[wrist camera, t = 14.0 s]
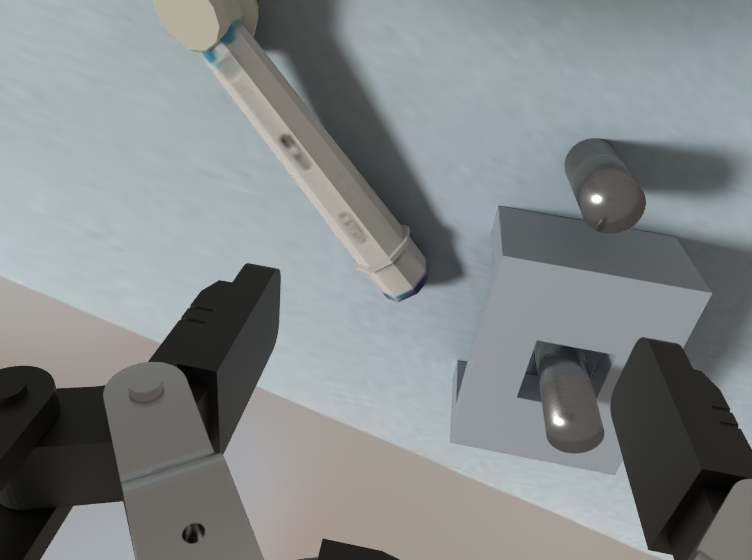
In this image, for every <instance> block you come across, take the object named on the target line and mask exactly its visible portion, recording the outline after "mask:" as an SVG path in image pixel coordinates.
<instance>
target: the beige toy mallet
mask: <svg viewBox="0 0 752 560" xmlns="http://www.w3.org/2000/svg"><path fill="white" fill-rule="evenodd" d="M153 3H154V7H155V10H156V13H157V15H158V18H159V21H160V24H161V26H162V27H163V28H164V29H165V30H166V32H167V33H168V34H169V35H170V36H171V38H172V39H173V40H174V41H176V42H177V43H179V44H181V45H183V46H184V47H186V48H188V49H190V50H192V51H194V52H198V53H199V55H200V56H201V57H202V58H203V60H204V61H205V62H206V64H207V65H208V66H209V68H210V69H211V70H212V72H213V73H214V74H215V76H216V77H217V78H218V80H219V81H220V82H221V84H222V85H223V86H224V87H225V89H226V90H227V91H228V93H229V94H230V95H231V97H232V98H233V99H234V101H235V102H236V103H237V105H238V106H239V107H240V109H241V110H242V111H243V113H244V114H245V115H246V116H247V118H248V119H249V120H250V122H251V123H252V124H253V126H254V127H255V128H256V130H257V131H258V132H259V134H260V135H261V136H262V138H263V139H264V140H265V142H266V143H267V144H268V145H269V147H270V148H271V149H272V151H273V152H274V153H275V155H276V156H277V157H278V159H279V160H280V161H281V163H282V164H283V165H284V167H285V168H286V169H287V171H288V172H289V173H290V174H291V176H292V177H293V178H294V180H295V181H296V182H297V184H298V185H299V186H300V188H301V189H302V190H303V192H304V193H305V194H306V196H307V197H308V198H309V200H310V201H311V202H312V203H313V205H314V206H315V207H316V209H317V210H318V211H319V213H320V214H321V215H322V217H323V218H324V219H325V221H326V222H327V223H328V225H329V226H330V227H331V229H332V230H333V231H334V233H335V234H336V235H337V236H338V238H339V239H340V240H341V242H342V243H343V244H344V246H345V247H346V248H347V250H348V251H349V252H350V254H351V255H352V256H353V258H354V259H355V265H354V267H355V268H356V270H358V271H362V272H365V273H366V274H367V275H368V276H369V277H370V278H371V280H372V281H373V282H374V283H375V284H376V286H377V287H378V288H379V289H380V290H381V292H382V293H383V294H384V295H385V296H386V298H388V299H391V300H394V301H397V302H400V301H402V300H404V299H406V298H409V297H411V296H413V295H415V294H417V293H418V292H419V291H420V290H421V288H422V287H423V286H424V285H425V284H426V282H427V281H428V280H429V279H430V278H431V277H430V264H429V262H428V261H427V260H426V258H425V257H424V256H423V254H422V253H421V252H420V250H419V249H418V248H417V246H416V245H415V244H414V242H413V241H412V239H411V238H410V228H409V227H408V225H400V224H399V222H398V221H397V220H396V219H395V217H394V216H393V215H392V214H391V212H390V211H389V210H388V208H387V207H386V206H385V205H384V203H383V202H382V201H381V200H380V198H379V197H378V196H377V194H376V193H375V192H374V191H373V189H372V188H371V187H370V186H369V184H368V183H367V182H366V180H365V179H364V178H363V177H362V175H361V174H360V173H359V172H358V170H357V169H356V168H355V166H354V165H353V164H352V163H351V161H350V160H349V159H348V158H347V156H346V155H345V154H344V152H343V151H342V150H341V149H340V147H339V146H338V145H337V144H336V142H335V141H334V140H333V138H332V137H331V136H330V135H329V133H328V132H327V131H326V130H325V128H324V127H323V126H322V124H321V123H320V122H319V121H318V119H317V118H316V117H315V116H314V114H313V113H312V112H311V111H310V109H309V108H308V107H307V105H306V104H305V103H304V102H303V100H302V99H301V98H300V97H299V95H298V94H297V93H296V91H295V90H294V89H293V88H292V86H291V85H290V84H289V83H288V81H287V80H286V79H285V77H284V76H283V75H282V74H281V72H280V71H279V70H278V69H277V67H276V66H275V65H274V63H273V62H272V61H271V60H270V58H269V57H268V56H267V55H266V53H265V52H264V51H263V49H262V48H261V47H260V46H259V44H258V43H257V42H256V41H255V39H254V35H255V31H256V27H257V23H258V19H259V14H258V10H259V6H258V2H257V0H153Z"/></svg>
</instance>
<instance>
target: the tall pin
mask: <svg viewBox="0 0 752 560" xmlns="http://www.w3.org/2000/svg"><path fill="white" fill-rule="evenodd" d="M534 352H535V359H536V366H537V373H538V380H539V387H540V394H541V401H542V408H543V415H544V422H545V430H546V437H547V440H548V442H549V443H550V444H551V445H552V446H553V447H554V448H556V449H557V450H559V451H562V452H565V453H573V454H577V453H584V452H588V451H590V450H593V449H594V448H596V447H597V446H598V445H600V443H601V442H602V441H603V438H604V428H603V424H602V420H601V416H600V412H599V408H598V405H597V401H596V397H595V393H594V389H593V385H592V381H591V377H590V374H589V370H588V366H587V362H586V358H585V354H584V350H583V349H581V348H575V347H570V346H565V345H559V344H554V343H548V342H543V341H538V340H537V341H536V344H535V347H534Z"/></svg>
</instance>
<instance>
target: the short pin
mask: <svg viewBox="0 0 752 560" xmlns="http://www.w3.org/2000/svg"><path fill="white" fill-rule="evenodd" d="M565 172H566V174H567V177H568V179H569V182H570V185H571V187H572V190H573V192H574V195H575V197H576V200H577V202H578V205H579V207H580V210H581V212H582V215H583V217H584V220H585V222H586V223H587V224H588V225H589V226H590V227H591V228H592V229H594V230H595V231H598V232H600V233H605V234H614V233H619V232H622V231H625V230H627V229H629V228H631V227H632V226H633V225H635V224H636V223H637V222H638V221H639V219H640V218H641V217H642V215H643V213H644V210H645V206H646V199H645V195H644V193H643V191H642V189H641V188H640V186H639V185H638V183H637V182H636V180H635V179H634V177H633V176H632V174H631V173H630V171H629V170H628V168H627V167H626V165H625V164H624V162H623V161H622V159H621V158H620V156H619V155H618V153H617V152H616V150H615V149H614V147H613V146H612V145H611V144H610V143H608V142H607V141H605V140H602V139H596V138H593V139H587V140H584V141H581V142H579V143H578V144H576V145H575V146H574V147H573V148H572V149H571V150H570V151H569V153H568V155H567V157H566V160H565Z"/></svg>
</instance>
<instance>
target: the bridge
mask: <svg viewBox="0 0 752 560" xmlns="http://www.w3.org/2000/svg"><path fill="white" fill-rule="evenodd" d="M492 247H493V264H494V268H493V272H492V275H491V279H490V283H489V286H488V290H487V293H486V297H485V301H484V304H483V308H482V312H481V315H480V319H479V322H478V326H477V330H476V333H475V337H474V341H473V344H472V348H471V351H470V355H469V359H468V362H463V361H457V365H456V369H455V373H454V377H453V389H452V410H451V431H450V442H451V443H456V444H461V445H466V446H471V447H476V448H481V449H486V450H491V451H496V452H501V453H506V454H511V455H516V456H521V457H526V458H531V459H536V460H541V461H546V462H551V463H556V464H561V465H566V466H571V467H576V468H581V469H586V470H591V471H596V472H601V473H606V474H611V475H615V473H616V472H617V470H618V468H619V466H620V464H621V462H622V460H623V457H622V454H621V450H620V446H619V443H618V439H617V436H616V432H615V429H614V425H613V421H612V418H611V412H610V404H611V397H612V393H613V390H614V387H615V385H616V383H617V381H618V379H619V377H620V374H621V372H622V370H623V368H624V366H625V364H626V362H627V360H628V358H629V356H630V354H631V351H632V349H633V347H634V345H635V343H636V342H637V341H638V340H639V339H640V338H642V337H645V338H651V339H656V340H662V341H667V342H672V343H678V344H680V345H681V346H682V348H683V347H684V345H685V344H686V342H687V340H688V338H689V336H690V334H691V332H692V331H693V329H694V327H695V325H696V323H697V321H698V319H699V318H700V316H701V314H702V312H703V310H704V308H705V306H706V305H707V303H708V301H709V299H710V297H711V295H712V292H711V290H710V288H709V287H708V285H707V284H706V282H705V281H704V279H703V278H702V276H701V275H700V273H699V272H698V270H697V268H696V267H695V265H694V264H693V262H692V261H691V259H690V258H689V256H688V255H687V253H686V252H685V250H684V249H683V247H682V245H681V244H680V242H679V241H678V239H677V238H676V237H675V236H669V235H663V234H657V233H651V232H646V231H640V230H634V229H627V230H625V231H622V232H619V233H614V234H605V233H600V232H598V231H595V230H594V229H592V228H591V227H590V226H589V225H588V224H587V223H586V222H585V221H582V220H577V219H571V218H565V217H559V216H554V215H548V214H542V213H536V212H531V211H525V210H519V209H513V208H507V207H502V206H498V209H497V213H496V217H495V221H494V225H493V228H492ZM537 340H538V341H543V342H548V343H554V344H559V345H565V346H570V347H575V348H581V349H586V350H591V351H597V352H602V353H603V354H602V356H601V358H600V360H599V363H598V365H597V367H596V369H595V372H594V374H593V376H592V378H591V381H592V385H593V389H594V393H595V397H596V401H597V405H598V408H599V412H600V416H601V420H602V424H603V428H604V438H603V441H602V442H601V443H600V445H598V446H597V447H596V448H594V449H593V450H590V451H588V452H584V453H577V454H573V453H565V452H562V451H559V450H557V449H556V448H554V447H553V446H552V445H551V444H550V443H549V442H548V440H547V437H546V430H545V422H544V415H543V408H542V401H541V394H540V387H539V380H538V376H537V375H531V374H526V373H525V372H526V370H527V367H528V364H529V361H530V358H531V355H532V353H533V350H534V347H535V344H536V341H537Z"/></svg>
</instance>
